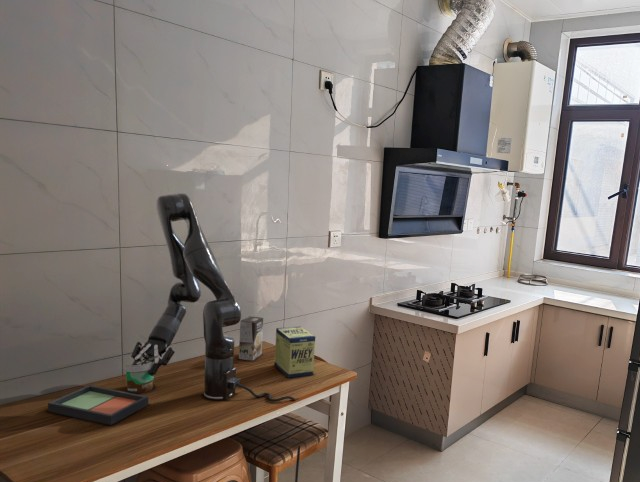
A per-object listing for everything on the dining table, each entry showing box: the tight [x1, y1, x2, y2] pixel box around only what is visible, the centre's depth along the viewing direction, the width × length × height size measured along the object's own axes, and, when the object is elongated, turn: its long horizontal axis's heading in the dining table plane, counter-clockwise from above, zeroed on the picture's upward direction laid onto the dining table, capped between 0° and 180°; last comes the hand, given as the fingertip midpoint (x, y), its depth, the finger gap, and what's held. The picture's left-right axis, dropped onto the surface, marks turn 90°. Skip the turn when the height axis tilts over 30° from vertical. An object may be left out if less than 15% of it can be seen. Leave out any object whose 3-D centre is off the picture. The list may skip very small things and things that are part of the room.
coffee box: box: [238, 315, 264, 362], centre depth 225 cm, size 9×6×16 cm
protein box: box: [273, 326, 316, 379], centre depth 215 cm, size 10×16×16 cm
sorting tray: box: [47, 384, 149, 426], centre depth 169 cm, size 22×16×3 cm
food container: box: [124, 357, 155, 394], centre depth 185 cm, size 12×6×10 cm, turn 169°
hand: (141, 373), depth 183 cm, fingers closed on food container, 6 cm apart
